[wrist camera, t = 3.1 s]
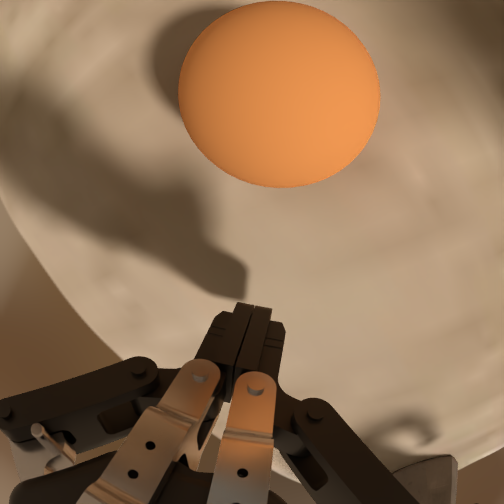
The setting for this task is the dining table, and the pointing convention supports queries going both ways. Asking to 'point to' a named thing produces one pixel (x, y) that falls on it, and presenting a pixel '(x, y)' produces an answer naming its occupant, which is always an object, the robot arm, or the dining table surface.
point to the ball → (279, 94)
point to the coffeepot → (431, 480)
